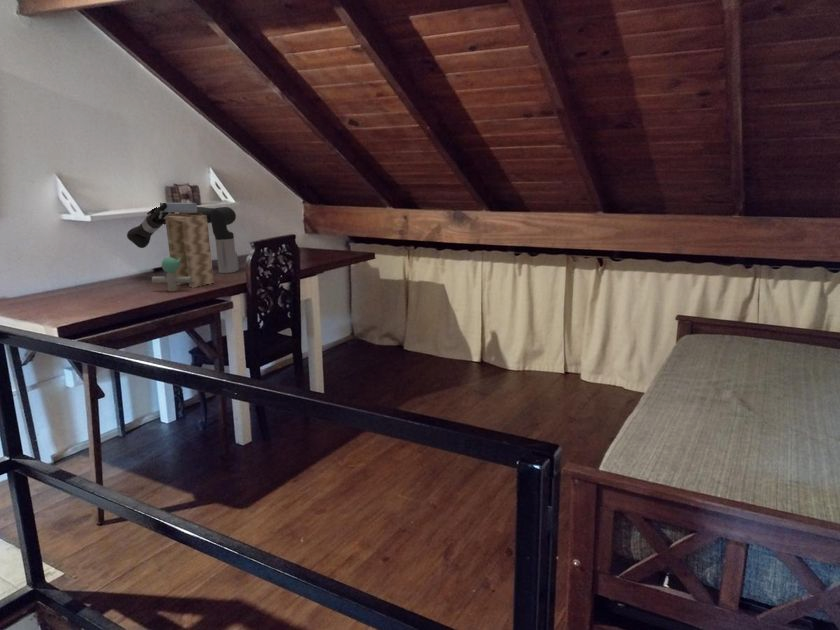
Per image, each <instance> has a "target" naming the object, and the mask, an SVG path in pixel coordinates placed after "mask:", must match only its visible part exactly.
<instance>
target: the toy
mask: <svg viewBox="0 0 840 630" xmlns="http://www.w3.org/2000/svg"><path fill="white" fill-rule="evenodd" d="M180 261H181V258H179V260H176V259H174V258H170V256H169V257H164V258H163V260H162V261H161V268H162V270H163V271H164V272H165V273H166V275H165V276H152V277H151V283H167V291H168V292H177V291H179V290H178V289H179V288H178V286H177V283H187V284H189V283H191V282H192V277H176V273H175V271H176V270H177V269H178V267H179V265H180Z"/></svg>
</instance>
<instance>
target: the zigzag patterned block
mask: <svg viewBox="0 0 840 630" xmlns="http://www.w3.org/2000/svg"><path fill="white" fill-rule="evenodd" d="M165 221H166V224H165V228H166V235H167V243H168V252H169V257H170V258H174V259H176V260H179V258H181V261H180V265H179V267H178V269H177V270H176V271H175V273H176V277H192V282H191V283H188V285H189V288H190V287H192V288H191V289H194V288H193V287H195V288H198V287H197V286H200V287H203V286H202V285H204V286H207V285H206V284H209V285H212V284H211V283H214V284H215V281H214V271H213V263H212V253H211V244H210V234H209V225H208V224H209V223H207V215H203V214H202V213H181V214H179V213H175V214H174V213H169V216H166V217H165ZM181 284H182V285H187V284H186V283H177V285H178V286H182V285H181Z"/></svg>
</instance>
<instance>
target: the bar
mask: <svg viewBox="0 0 840 630" xmlns="http://www.w3.org/2000/svg"><path fill="white" fill-rule="evenodd" d="M159 203H160V206H161V205H162V204H163V203H161V202H159ZM166 205H167V208H166V209H165V210H164V211H163V212H175V213H180V212H181V213H193V212H197V207H198V205H197V203H196V202H174V203H172V202H166Z"/></svg>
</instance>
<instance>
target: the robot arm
mask: <svg viewBox="0 0 840 630" xmlns="http://www.w3.org/2000/svg"><path fill="white" fill-rule="evenodd" d="M166 203H167V202H166ZM166 203H163V204H162V205H161V206H160V207H158V208H157V207H156V208H154V209H152V208H151V209H152V210H151V209H150V211H148V212H147V213H146V215H147V216H146V217H145V218H144V220H143V221H142V222H141V223H139V225H138V226H134V227H132V228H131V229H130V230H128V232H127V234H126V237H127V239H128V240H129V241H130V242H131V243H132V244H134V245H135V246H136V247H137V248H139V249H143V248H146V247H147V246H148V245H149V243H150V241H151V236H152V235H153V234H154V233H156V231H158V230H159V229H160V228H161V227H162V226H163V224H164V225H165V226H166V221H165V217H166V216H169V213H174V214H176V212H163V211H164V210H165V209H166V208H167V205H166ZM171 203H175V201H172V202H171ZM193 213H202V214H203V215H207V223H208V224H211V227H212V234H213V235H214V238H215V249H216V258H217V268H218V273H221V274H230V273H236V272H237V271H239V260H238V253H237V252H236V245H235V238H234V237H235V233H233V232H232V231H230V230H228V227H227V226H229V225H232V224H233V223H234V222H235V221H236V217H237V216H236V212H235V211H234V209H233V208H231V207H229V206H222V207H221V206H220V207H214V208H213V207H211V208H210V207H206V206H205V207H203V206H197V212H193ZM178 214H181V212H178Z"/></svg>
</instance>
